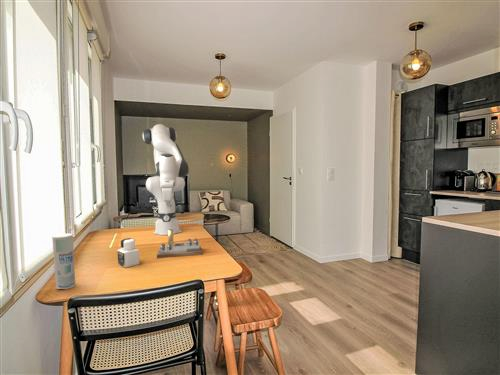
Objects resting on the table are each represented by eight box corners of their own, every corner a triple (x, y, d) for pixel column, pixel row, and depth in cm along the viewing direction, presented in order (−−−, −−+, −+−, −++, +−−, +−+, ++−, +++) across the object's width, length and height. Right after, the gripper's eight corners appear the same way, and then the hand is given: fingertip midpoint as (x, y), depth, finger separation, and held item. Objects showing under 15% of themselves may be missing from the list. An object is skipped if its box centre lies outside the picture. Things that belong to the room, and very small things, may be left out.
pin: (168, 247, 165) (167, 229, 164) (173, 246, 166) (173, 229, 165) (168, 248, 162) (167, 230, 161) (173, 248, 163) (173, 230, 162)
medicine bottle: (117, 264, 136) (116, 239, 135) (132, 260, 142) (131, 236, 141) (124, 268, 132) (123, 242, 131) (139, 264, 137) (138, 239, 136)
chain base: (158, 251, 156) (158, 248, 156) (200, 248, 161) (200, 246, 161) (156, 258, 145) (156, 255, 145) (201, 254, 150) (201, 251, 150)
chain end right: (173, 248, 156) (172, 239, 155) (198, 247, 159) (198, 238, 158) (172, 252, 149) (172, 243, 149) (199, 250, 152) (199, 241, 151)
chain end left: (160, 249, 154) (160, 243, 154) (186, 248, 157) (186, 241, 157) (159, 253, 148) (159, 246, 147) (186, 251, 150) (186, 245, 150)
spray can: (58, 291, 107) (55, 238, 106) (53, 287, 112) (50, 235, 110) (78, 286, 112) (75, 234, 111) (72, 281, 117) (69, 232, 115)
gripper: (164, 182, 171) (165, 206, 172) (160, 184, 151) (161, 211, 151) (175, 182, 172) (176, 205, 173) (173, 184, 152) (174, 210, 153)
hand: (169, 208), depth 162 cm, fingers open, 8 cm apart
